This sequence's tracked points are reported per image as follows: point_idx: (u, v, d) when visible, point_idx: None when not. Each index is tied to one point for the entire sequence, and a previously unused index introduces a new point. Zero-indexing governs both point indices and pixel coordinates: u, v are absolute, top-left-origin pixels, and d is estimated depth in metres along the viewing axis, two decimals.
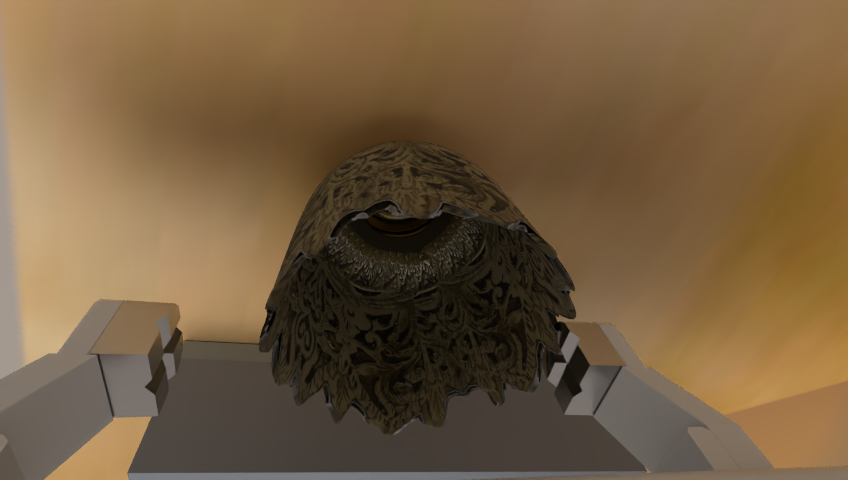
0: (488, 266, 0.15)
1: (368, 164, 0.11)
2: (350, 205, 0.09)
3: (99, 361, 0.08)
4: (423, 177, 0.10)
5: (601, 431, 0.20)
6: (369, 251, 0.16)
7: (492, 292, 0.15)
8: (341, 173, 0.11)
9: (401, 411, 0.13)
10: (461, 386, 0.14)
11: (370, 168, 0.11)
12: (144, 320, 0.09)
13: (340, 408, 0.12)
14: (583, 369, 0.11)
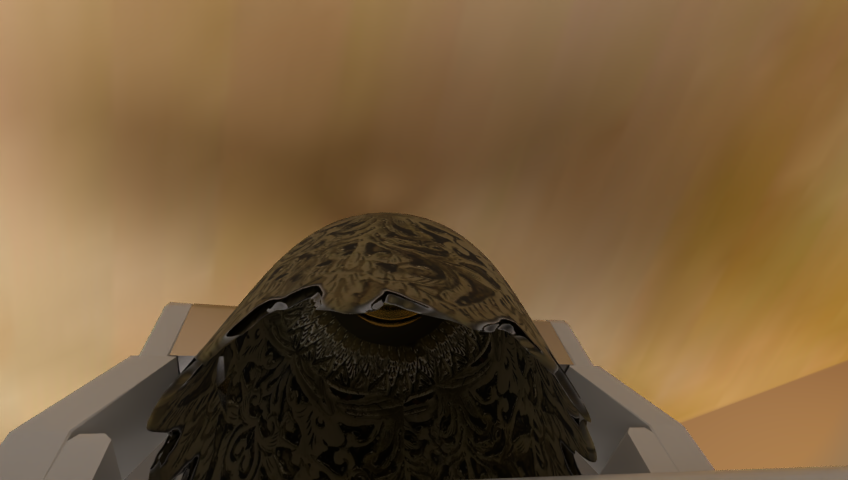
0: (493, 369, 0.12)
1: (323, 238, 0.09)
2: (273, 291, 0.07)
3: (178, 362, 0.08)
4: (377, 255, 0.08)
5: None
6: (353, 344, 0.14)
7: (497, 404, 0.11)
8: (294, 250, 0.09)
9: None
10: None
11: (321, 244, 0.09)
12: (214, 323, 0.09)
13: None
14: None
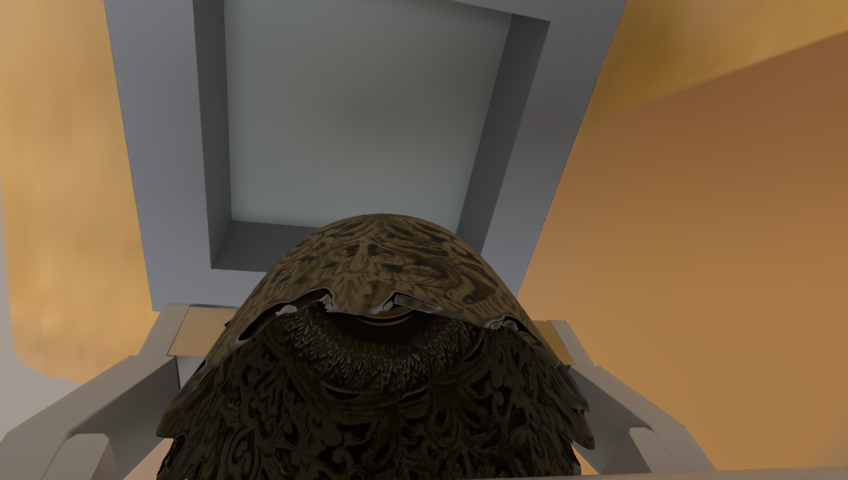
0: (487, 364, 0.12)
1: (323, 240, 0.09)
2: (280, 294, 0.07)
3: (176, 362, 0.08)
4: (381, 257, 0.08)
5: None
6: (347, 344, 0.14)
7: (492, 398, 0.12)
8: (292, 252, 0.09)
9: None
10: None
11: (321, 246, 0.09)
12: (213, 323, 0.09)
13: None
14: None
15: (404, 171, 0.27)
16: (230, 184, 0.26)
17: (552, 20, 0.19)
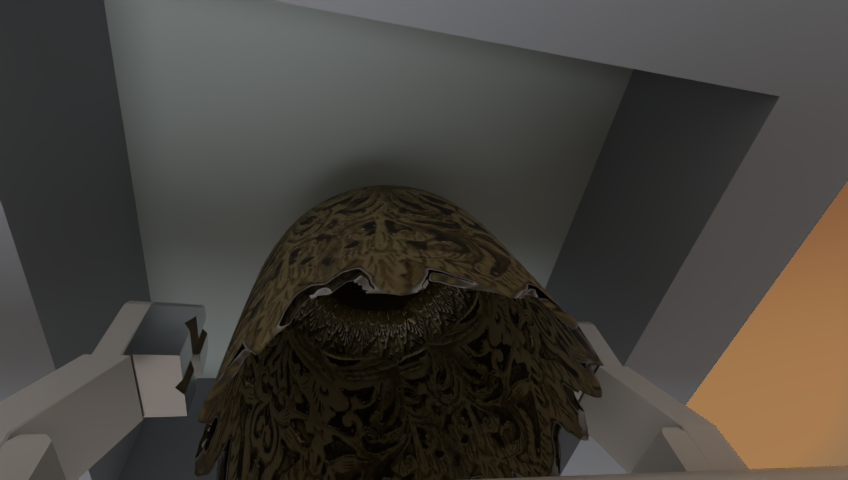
0: (484, 324, 0.13)
1: (333, 218, 0.09)
2: (308, 276, 0.07)
3: (132, 361, 0.08)
4: (402, 233, 0.08)
5: None
6: (344, 313, 0.14)
7: (491, 355, 0.12)
8: (301, 230, 0.09)
9: None
10: (462, 478, 0.11)
11: (334, 224, 0.09)
12: (173, 321, 0.09)
13: None
14: None
15: None
16: None
17: (782, 94, 0.09)
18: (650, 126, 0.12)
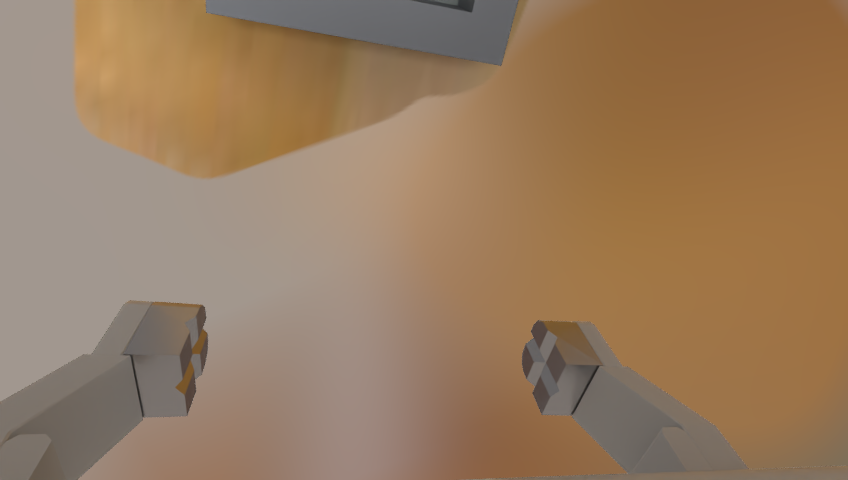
0: None
1: None
2: None
3: (132, 362, 0.08)
4: None
5: None
6: None
7: None
8: None
9: None
10: None
11: None
12: (173, 321, 0.09)
13: None
14: (560, 369, 0.10)
15: None
16: None
17: None
18: None
